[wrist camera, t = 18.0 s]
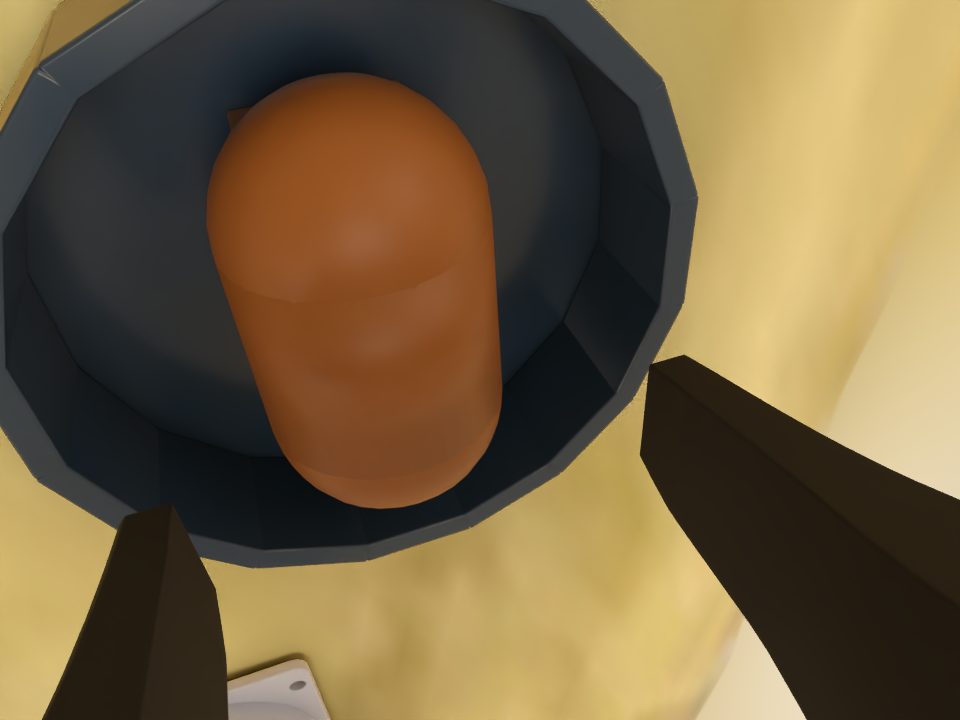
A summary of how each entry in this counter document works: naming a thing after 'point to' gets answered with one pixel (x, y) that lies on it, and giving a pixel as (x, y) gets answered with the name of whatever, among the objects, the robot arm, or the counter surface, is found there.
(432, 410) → the orange capsule
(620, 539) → the counter surface
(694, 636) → the counter surface
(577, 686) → the counter surface
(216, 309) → the pot
